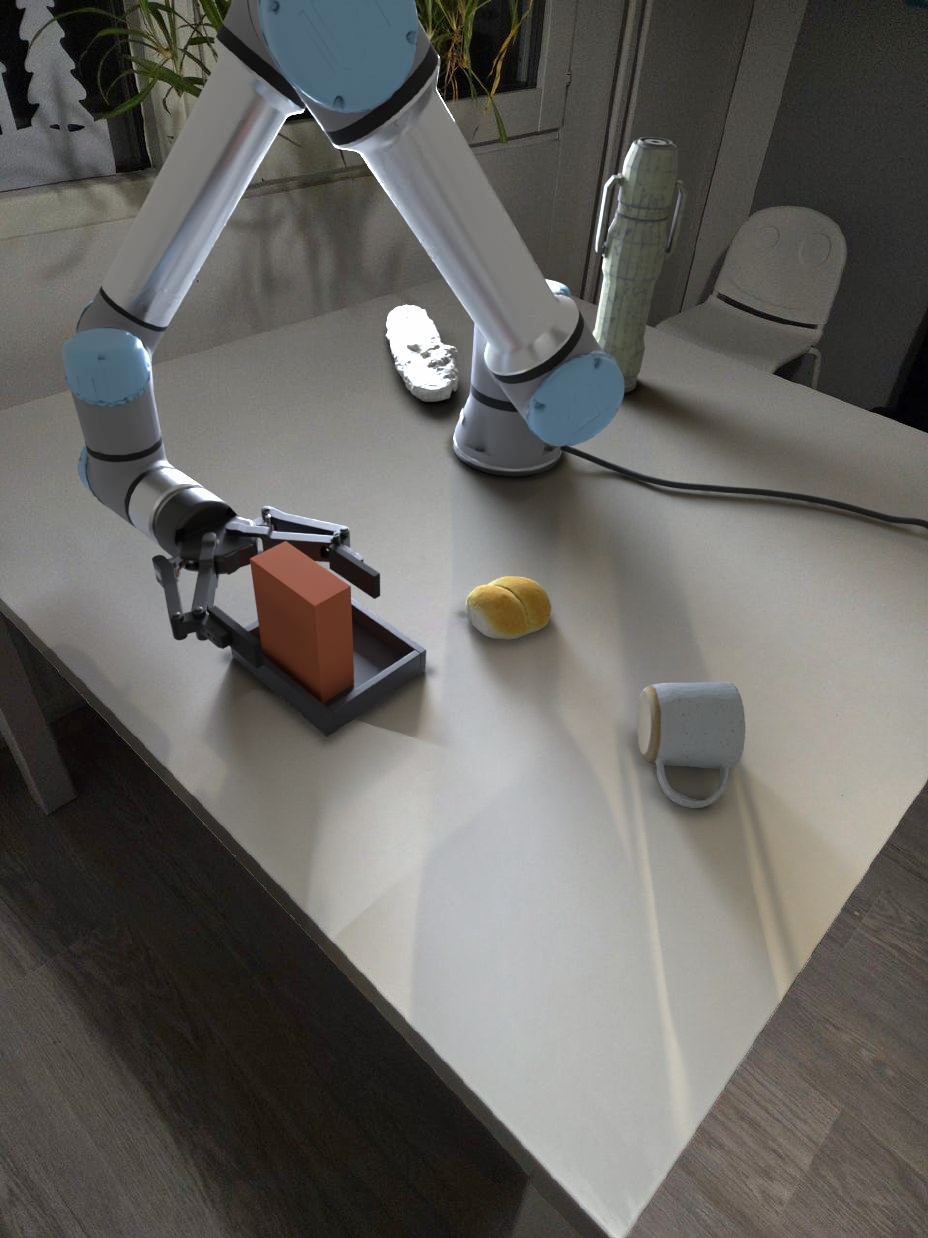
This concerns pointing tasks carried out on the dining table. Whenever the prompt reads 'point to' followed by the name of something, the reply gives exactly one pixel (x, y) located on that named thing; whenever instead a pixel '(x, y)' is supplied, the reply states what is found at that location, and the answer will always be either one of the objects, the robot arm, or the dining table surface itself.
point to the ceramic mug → (691, 730)
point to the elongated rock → (421, 354)
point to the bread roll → (508, 607)
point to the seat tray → (377, 672)
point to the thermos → (636, 248)
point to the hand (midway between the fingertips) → (321, 619)
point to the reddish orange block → (304, 620)
